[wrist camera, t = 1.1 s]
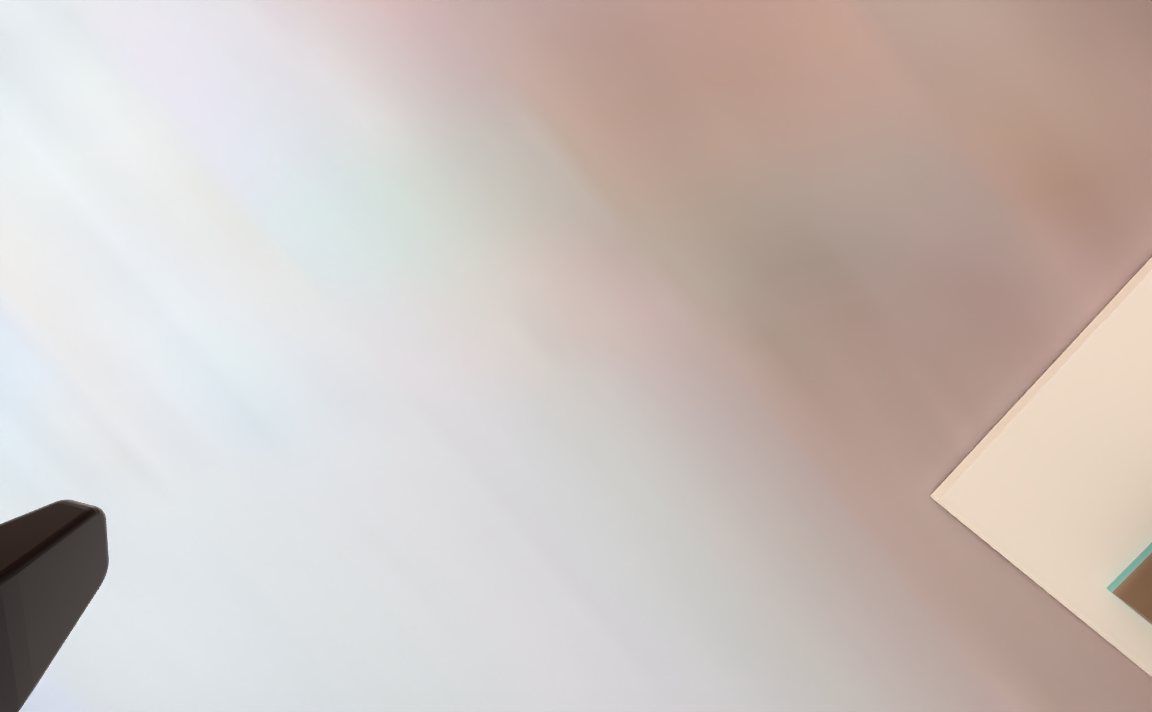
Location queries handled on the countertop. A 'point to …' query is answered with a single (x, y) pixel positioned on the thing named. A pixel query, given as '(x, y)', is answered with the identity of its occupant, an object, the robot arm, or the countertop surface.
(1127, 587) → the walnut block
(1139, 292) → the cream board
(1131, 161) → the countertop surface
